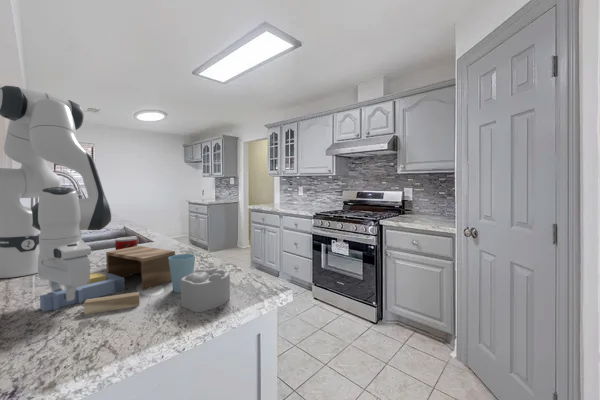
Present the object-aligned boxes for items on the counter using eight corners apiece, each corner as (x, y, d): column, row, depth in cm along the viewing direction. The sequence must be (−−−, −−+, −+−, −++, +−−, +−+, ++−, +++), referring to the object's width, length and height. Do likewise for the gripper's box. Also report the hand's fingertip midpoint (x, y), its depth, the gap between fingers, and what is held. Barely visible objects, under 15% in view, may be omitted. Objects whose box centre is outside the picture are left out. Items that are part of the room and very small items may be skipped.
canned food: (128, 267, 115) (127, 240, 114) (111, 266, 116) (110, 239, 116) (142, 262, 122) (141, 237, 122) (126, 261, 124) (125, 236, 123)
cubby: (107, 280, 98) (106, 251, 98) (139, 272, 108) (138, 245, 108) (144, 290, 89) (143, 258, 88) (175, 279, 99) (175, 251, 99)
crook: (32, 303, 79) (32, 290, 79) (110, 283, 95) (110, 273, 95) (45, 312, 73) (44, 298, 73) (126, 290, 89) (125, 278, 89)
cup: (175, 285, 93) (174, 253, 93) (199, 285, 93) (198, 253, 93) (164, 294, 86) (163, 259, 85) (190, 294, 86) (189, 259, 85)
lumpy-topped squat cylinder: (176, 304, 78) (175, 273, 78) (216, 290, 89) (216, 263, 88) (198, 314, 72) (198, 280, 72) (238, 298, 82) (238, 268, 82)
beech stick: (86, 311, 74) (86, 299, 74) (139, 303, 80) (139, 291, 80) (84, 315, 72) (83, 303, 72) (139, 306, 77) (138, 294, 77)
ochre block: (82, 290, 90) (82, 275, 89) (98, 286, 93) (98, 272, 93) (89, 293, 86) (89, 279, 86) (106, 289, 90) (106, 275, 90)
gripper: (28, 246, 79) (31, 295, 80) (66, 253, 70) (68, 309, 71) (56, 242, 85) (58, 288, 86) (94, 248, 76) (96, 300, 76)
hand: (63, 297), depth 78 cm, fingers open, 5 cm apart
